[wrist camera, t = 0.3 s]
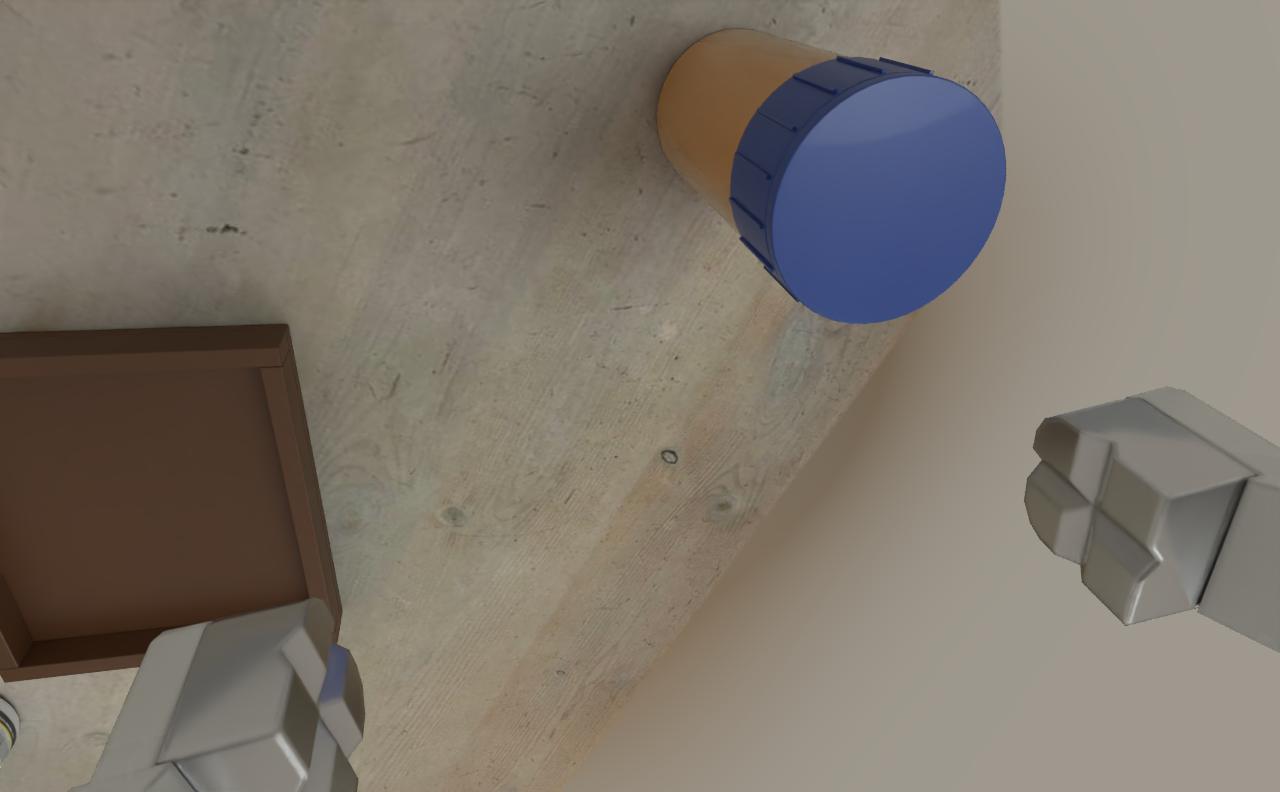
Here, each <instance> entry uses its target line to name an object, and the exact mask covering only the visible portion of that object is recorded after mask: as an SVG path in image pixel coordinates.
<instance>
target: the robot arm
mask: <svg viewBox="0 0 1280 792" xmlns="http://www.w3.org/2000/svg"><path fill="white" fill-rule="evenodd" d="M1033 449H1034V450H1035V451H1036V453H1037V454H1038V455H1039V457H1040V458H1041V459H1042V461H1041V462H1040V463H1039V464H1038V466H1037V467H1036V468H1035V469H1034V471H1033V472H1032V473H1031V474H1030V476H1029V477H1028V478H1027V484H1026V491H1025V498H1024V502H1025V505H1026V509H1027V513H1028V516H1029V520H1030V524H1031V525H1032V527H1033V529H1034V530H1035V532H1036V533H1037V535H1038V537H1039V539H1040V540H1041V541H1042V542H1043V543H1044V544H1045V545H1046V546H1047V547H1048V548H1049V549H1050V550H1051V551H1052V552H1053V553H1054V554H1055V555H1057V556H1060V557H1062V558H1065V559H1067V560H1069V561H1072V562H1074V563H1077V564H1079V565H1080V566H1081V578H1082V583H1083V584H1084V585H1085V586H1086V587H1087V588H1088V589H1089V590H1090V591H1091V592H1092V593H1093V594H1094V595H1095V596H1096V597H1097V598H1098V599H1099V600H1100V601H1101V602H1102V603H1103V604H1104V605H1105V606H1106V607H1107V608H1108V609H1109V610H1110V611H1111V612H1112V613H1113V614H1114V615H1115V616H1116V617H1117V618H1118V619H1119V620H1120V621H1121V622H1122V623H1123V624H1124V625H1125V626H1128V625H1131V624H1136V623H1140V622H1144V621H1148V620H1152V619H1156V618H1160V617H1164V616H1168V615H1171V614H1175V613H1180V612H1183V611H1188V610H1191V609H1196V608H1198V611H1197V612H1198V613H1200V614H1202V615H1204V616H1206V617H1208V618H1210V619H1212V620H1214V621H1216V622H1218V623H1220V624H1222V625H1225V626H1226V627H1228V628H1230V629H1232V630H1234V631H1236V632H1238V633H1240V634H1242V635H1245V636H1246V637H1248V638H1251V639H1253V640H1254V641H1256V642H1259V643H1260V644H1262V645H1265V646H1267V647H1269V648H1271V649H1273V650H1275V651H1277V652H1279V653H1280V448H1279V447H1278V446H1276V445H1274V444H1273V443H1271V442H1269V441H1268V440H1266V439H1264V438H1263V437H1261V436H1259V435H1258V434H1256V433H1254V432H1253V431H1251V430H1249V429H1248V428H1246V427H1244V426H1243V425H1241V424H1239V423H1238V422H1236V421H1235V420H1233V419H1231V418H1230V417H1228V416H1226V415H1225V414H1223V413H1221V412H1220V411H1218V410H1216V409H1215V408H1213V407H1211V406H1210V405H1208V404H1206V403H1205V402H1203V401H1201V400H1200V399H1198V398H1196V397H1195V396H1193V395H1191V394H1190V393H1188V392H1186V391H1185V390H1181V389H1176V388H1172V387H1163V388H1159V389H1155V390H1152V391H1148V392H1144V393H1140V394H1137V395H1133V396H1129V397H1126V398H1125V399H1122V400H1116V401H1112V402H1108V403H1104V404H1101V405H1096V406H1093V407H1088V408H1084V409H1081V410H1077V411H1073V412H1069V413H1065V414H1061V415H1057V416H1053V417H1049V418H1045V419H1044V421H1043V422H1042V423H1041V425H1040V426H1039V427H1038V429H1037V431H1036V435H1035V440H1034V445H1033ZM334 623H335V621H334V619H333V617H332V616H331V614H330V612H329V610H328V609H327V607H326V605H325V603H324V602H323V600H321V599H318V598H314V597H312V598H307V599H303V600H298V601H294V602H289V603H285V604H280V605H276V606H271V607H267V608H262V609H258V610H253V611H249V612H244V613H240V614H235V615H231V616H226V617H221V618H217V619H215V620H214V621H209V622H204V623H199V624H194V625H190V626H185V627H181V628H176V629H172V630H167V631H163V632H162V633H161V634H160V635H159V636H157V637H156V638H155V639H154V640H153V641H152V642H151V643H150V645H149V647H148V649H147V651H146V654H145V656H144V658H143V661H142V663H141V665H140V668H139V670H138V672H137V674H136V677H135V679H134V681H133V684H132V686H131V688H130V691H129V693H128V695H127V697H126V700H125V702H124V704H123V707H122V709H121V711H120V713H119V716H118V718H117V720H116V723H115V725H114V727H113V730H112V732H111V734H110V736H109V739H108V741H107V743H106V746H105V748H104V750H103V753H102V755H101V757H100V759H99V762H98V764H97V766H96V769H95V771H94V773H93V775H92V778H91V780H90V782H89V783H88V784H84V785H81V786H77V787H74V788H71V789H70V790H69V791H68V792H357V786H358V778H357V776H356V774H355V772H354V771H353V769H352V767H351V765H350V763H349V762H348V758H349V757H350V756H351V754H352V753H353V752H354V750H355V749H356V748H357V746H358V745H359V743H360V742H361V741H362V739H363V731H364V720H365V707H364V696H363V685H362V682H361V678H360V675H359V672H358V668H357V665H356V663H355V661H354V659H353V657H352V655H351V653H350V651H349V650H348V649H346V648H344V647H342V646H340V645H338V644H336V643H333V642H332V635H333V629H334Z"/></svg>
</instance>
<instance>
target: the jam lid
mask: <svg viewBox="0 0 1280 792" xmlns="http://www.w3.org/2000/svg"><path fill="white" fill-rule="evenodd" d="M933 72H934V71H931V70H927V69H923V68H920V67H916V66H912V65H908V64H904V63H900V62H897V61H893V60H889V59H885V58H881V57H880V59H879V60H875V59H871V58H863V57H844V56H836V59H832V60H828V61H825V62H821V63H818V64H815V65H813V66H811V67H809V68H806V69H805V70H803V71H801V72H799V73H798V74H797V73H795V74H793V75H792V76H793V77H791V78H790V79H788V80H787V81H786V82H784V83H783V84H782V85H781V86H780V87H779V88H777V89H776V90H774V92H772V94H771V95H770V96H769V97H768V98H767V99H766V100H765V101H764V103H763V104H762V105H761V106H760V108H759V107H758V108H757V110H756V111H757V112H756V113H755V114H754V116H753V117H752V119H751V120H750V122H749V123H748V125H747V128H746V129H745V131H744V133H743V136H742V138H741V140H740V143H739V145H738V148H737V151H736V152H735V154H734V156H735V157H734V161H733V167H732V172H731V182H730V198H729V202H730V203H731V207H732V212H733V217H734V220H735V223H736V226H737V229H738V231H739V233H740V235H741V237H740V238H739V239H740V241H741V242H742V243H743V244H744V245H745V246H746V247H747V248H748V249H749V250H750V251H751V252H752V253H753V254H754V255H755V256H756V257H757V258H758V259H759V260H760V261H761V262H762V263H763V264H764V265H765V266H764V269H765V270H766V271H767V272H768V273H769V274H770V275H771V276H772V277H773V278H774V279H775V280H776V281H777V282H778V283H779V284H780V285H781V286H782V287H783V288H784V289H785V290H786V291H787V292H788V293H789V294H790V295H791V296H792V297H793V298H794V299H795V301H797V302H799V301H800V302H801V303H802V304H803V305H805V306H806V307H807V308H809V309H810V310H811V311H813V312H815V313H817V314H819V315H821V316H823V317H825V318H828V319H831V320H835V321H838V322H844V323H850V324H869V323H878V322H883V321H887V320H892V319H895V318H898V317H901V316H903V315H906V314H908V313H910V312H913V311H915V310H917V309H919V308H921V307H922V306H924V305H926V304H927V303H929V302H931V301H932V300H934V299H935V298H937V297H938V296H939V295H941V294H942V293H943V292H944V291H946V290H947V289H948V288H949V287H950V286H951V285H952V284H954V282H956V281H957V280H958V279H959V278H960V277H961V275H962V274H963V273H964V272H965V271H966V270H967V269H968V268H969V267H970V265H971V264H972V263H973V261H974V260H975V258H976V257H977V256H978V254H979V253H980V251H981V250H982V248H983V246H984V245H985V243H986V241H987V240H988V238H989V236H990V233H991V231H992V229H993V227H994V225H995V222H996V220H997V217H998V214H999V211H1000V208H1001V204H1002V199H1003V196H1004V189H1005V182H1006V159H1005V150H1004V145H1003V141H1002V137H1001V134H1000V131H999V129H998V127H997V124H996V122H995V120H994V118H993V116H992V115H991V113H990V112H989V110H988V109H987V107H986V106H985V105H984V104H983V103H982V102H981V101H980V100H979V98H978V97H977V96H976V95H974V94H973V93H972V92H970V91H969V90H968V89H966V88H965V87H963V86H961V85H959V84H957V83H955V82H953V81H951V80H948V79H944V78H941V77H938V76H934V75H933Z"/></svg>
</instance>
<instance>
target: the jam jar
mask: <svg viewBox="0 0 1280 792" xmlns="http://www.w3.org/2000/svg"><path fill="white" fill-rule="evenodd" d="M836 56H844V57H849V56H845V55H842V54H838V53H835V52H831V51H827V50H824V49H820V48H817V47H813V46H810V45H806V44H803V43H799V42H795V41H792V40H788V39H785V38H781V37H778V36H774V35H771V34H767V33H763V32H760V31H756V30H753V29H745V28H733V29H727V30H722V31H719V32H716V33H713V34H710V35H708V36H706V37H704V38H702V39H701V40H699V41H698V42H696V43H695V44H693V45H692V46H691V47H690V48H689V49H688V50H687V51H685V52H684V53H683V55H682V56H681V57H680V58H679V59H678V60H677V62H676V63H675V64H674V66H673V67H672V69H671V70H670V72H669V74H668V76H667V78H666V80H665V82H664V85H663V87H662V90H661V94H660V98H659V102H658V109H657V128H658V136H659V140H660V144H661V146H662V149H663V152H664V154H665V156H666V158H667V159H668V161H669V163H670V164H671V166H672V167H673V168H674V170H675V171H676V172H677V173H678V174H679V175H680V176H681V177H682V178H683V179H684V180H685V181H686V182H687V183H688V184H689V185H690V186H691V187H692V188H693V189H694V190H695V191H696V192H697V193H698V194H699V195H700V196H701V197H702V198H703V199H704V200H705V201H706V202H707V203H708V204H709V205H710V206H711V207H712V208H713V209H714V210H715V211H716V212H717V213H718V214H719V215H720V216H721V217H722V218H723V219H724V220H725V221H726V222H727V223H728V224H729V225H730V226H731V227H732V228H733V229H734V230H735V231H736V232H737V233H738V234H739V235H740V233H739V231H738V229H737V226H736V223H735V220H734V217H733V212H732V207H731V203H730V202H729V198H730V182H731V172H732V167H733V161H734V157H735V156H734V154H735V152H736V151H737V148H738V145H739V143H740V140H741V138H742V136H743V133H744V131H745V129H746V128H747V125H748V123H749V122H750V120H751V119H752V117H753V116H754V114H755V113H756V112H757V111H756V110H757V108H758V107H759V108H760V106H761V105H762V104H763V103H764V101H765V100H766V99H767V98H768V97H769V96H770V95H771V94H772V92H774V90H776V89H777V88H779V87H780V86H781V85H782V84H783V83H784V82H786V81H787V80H788V79H790V78H791V77H793V76H792V75H793V74H795V73H797V74H798V73H799V72H801V71H803V70H805V69H806V68H809V67H811V66H813V65H815V64H818V63H821V62H825V61H828V60H832V59H836ZM740 236H741V235H740Z"/></svg>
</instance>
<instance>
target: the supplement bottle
mask: <svg viewBox="0 0 1280 792" xmlns="http://www.w3.org/2000/svg"><path fill="white" fill-rule="evenodd" d="M19 727H20V722H19V718H18V716H17V714H16V712H15V710H14V709H13V708H12V706H11V705H9V704H8V703H7V702H6V701H5V700H3V699H1V698H0V769H1V767H2V765H3V764H4V762H5V760H6V758H7V756H8V754H9V752H10V750H11V748H12V746H13V745H14V742H15V740H16V738H17V736H18V733H19Z"/></svg>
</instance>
